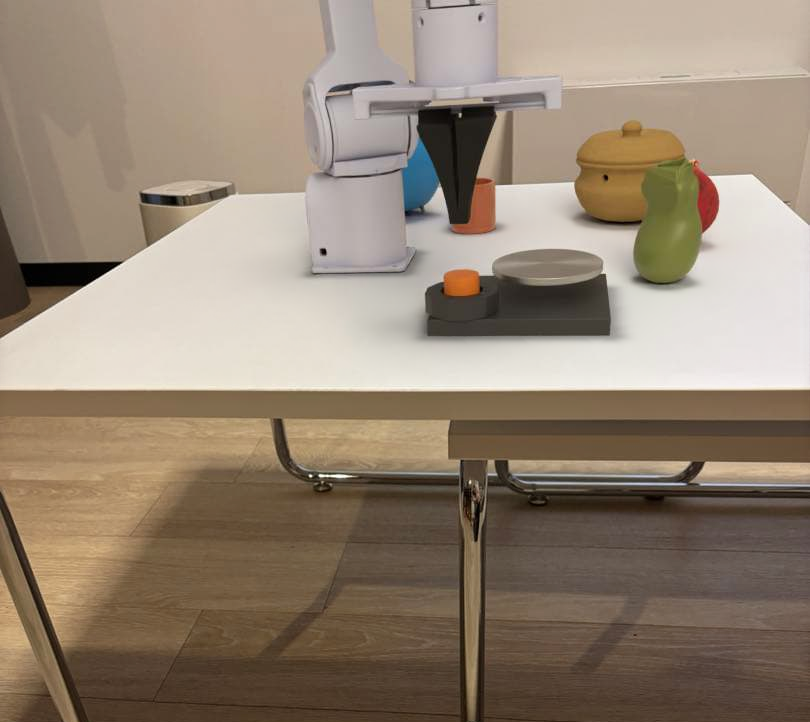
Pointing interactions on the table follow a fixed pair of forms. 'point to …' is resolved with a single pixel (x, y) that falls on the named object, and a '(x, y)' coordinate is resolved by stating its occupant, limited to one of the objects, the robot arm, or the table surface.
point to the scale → (521, 309)
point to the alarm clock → (418, 178)
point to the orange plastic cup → (481, 208)
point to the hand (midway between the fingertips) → (460, 221)
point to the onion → (706, 197)
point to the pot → (621, 169)
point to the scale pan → (547, 267)
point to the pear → (669, 223)
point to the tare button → (461, 282)
